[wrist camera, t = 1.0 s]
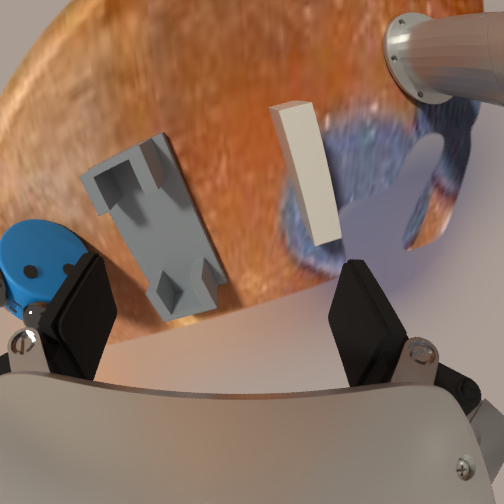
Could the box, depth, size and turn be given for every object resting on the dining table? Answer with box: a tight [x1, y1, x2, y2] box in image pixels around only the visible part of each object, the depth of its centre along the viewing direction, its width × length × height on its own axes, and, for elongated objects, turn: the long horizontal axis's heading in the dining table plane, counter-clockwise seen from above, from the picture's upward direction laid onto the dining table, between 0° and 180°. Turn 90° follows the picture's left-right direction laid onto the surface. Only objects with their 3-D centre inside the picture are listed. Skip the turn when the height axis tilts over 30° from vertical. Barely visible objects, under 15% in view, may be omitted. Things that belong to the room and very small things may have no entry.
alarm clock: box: [0, 219, 89, 330], centre depth 28 cm, size 13×6×15 cm, turn 53°
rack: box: [79, 132, 227, 322], centre depth 32 cm, size 10×21×6 cm, turn 18°
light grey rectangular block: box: [268, 100, 342, 246], centre depth 28 cm, size 3×14×7 cm, turn 18°
